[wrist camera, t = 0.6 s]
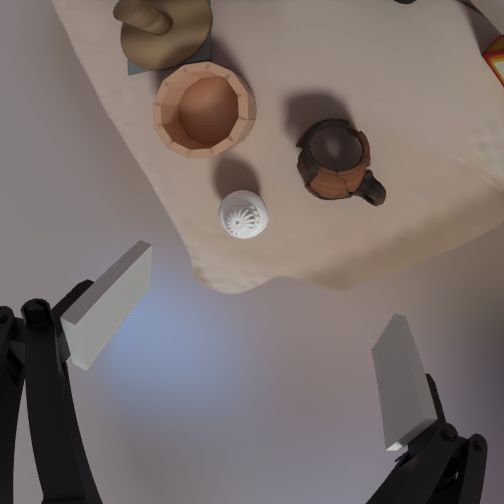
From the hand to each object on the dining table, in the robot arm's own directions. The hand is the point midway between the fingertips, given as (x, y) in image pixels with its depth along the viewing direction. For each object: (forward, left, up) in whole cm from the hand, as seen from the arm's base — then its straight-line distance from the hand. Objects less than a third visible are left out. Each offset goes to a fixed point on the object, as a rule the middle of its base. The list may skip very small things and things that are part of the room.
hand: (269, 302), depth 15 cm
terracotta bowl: (-10, -10, -25) cm, 29 cm away
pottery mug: (-3, +6, -26) cm, 27 cm away
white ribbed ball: (+3, -6, -26) cm, 26 cm away
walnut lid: (-23, -16, -25) cm, 37 cm away
